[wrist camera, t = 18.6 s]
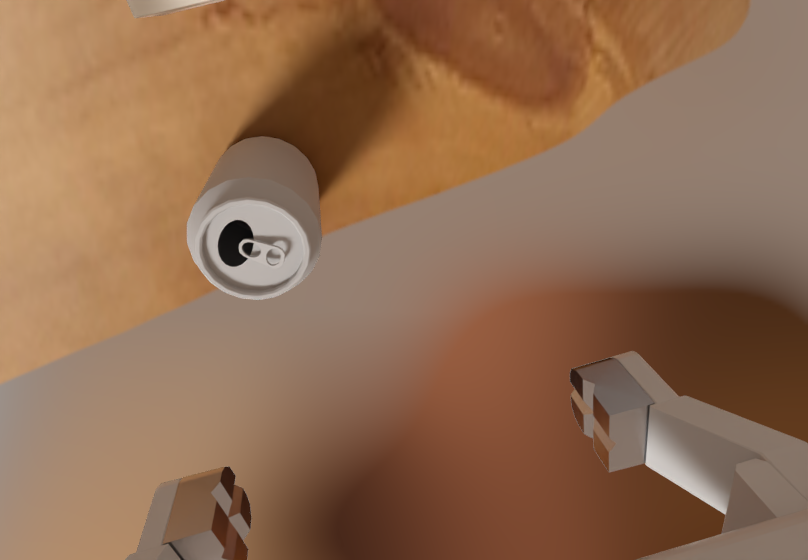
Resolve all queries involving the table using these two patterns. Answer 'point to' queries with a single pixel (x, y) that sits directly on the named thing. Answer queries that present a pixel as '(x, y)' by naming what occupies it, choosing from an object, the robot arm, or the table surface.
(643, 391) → the robot arm
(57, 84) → the table surface
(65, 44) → the table surface
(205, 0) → the pocket block
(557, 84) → the table surface
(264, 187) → the can
